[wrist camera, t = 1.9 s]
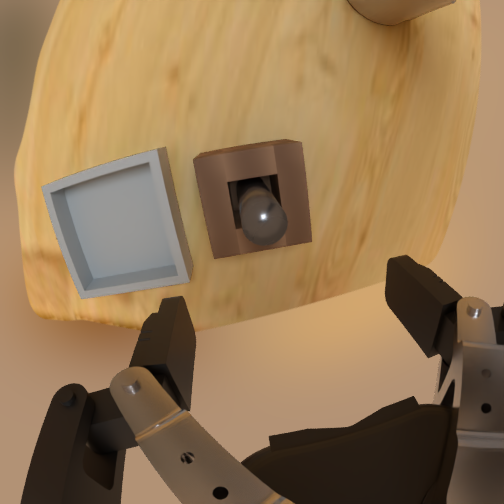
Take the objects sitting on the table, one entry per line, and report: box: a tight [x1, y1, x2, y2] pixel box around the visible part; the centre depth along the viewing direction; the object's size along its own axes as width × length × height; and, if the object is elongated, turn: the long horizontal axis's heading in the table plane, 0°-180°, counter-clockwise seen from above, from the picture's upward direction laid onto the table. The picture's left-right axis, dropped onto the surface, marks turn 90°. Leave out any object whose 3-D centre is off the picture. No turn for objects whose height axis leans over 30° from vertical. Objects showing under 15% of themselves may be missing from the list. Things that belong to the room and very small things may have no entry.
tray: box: [42, 147, 193, 299], centre depth 29 cm, size 14×14×4 cm
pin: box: [236, 177, 288, 246], centre depth 24 cm, size 3×3×12 cm
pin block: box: [193, 139, 312, 259], centre depth 28 cm, size 9×9×7 cm
